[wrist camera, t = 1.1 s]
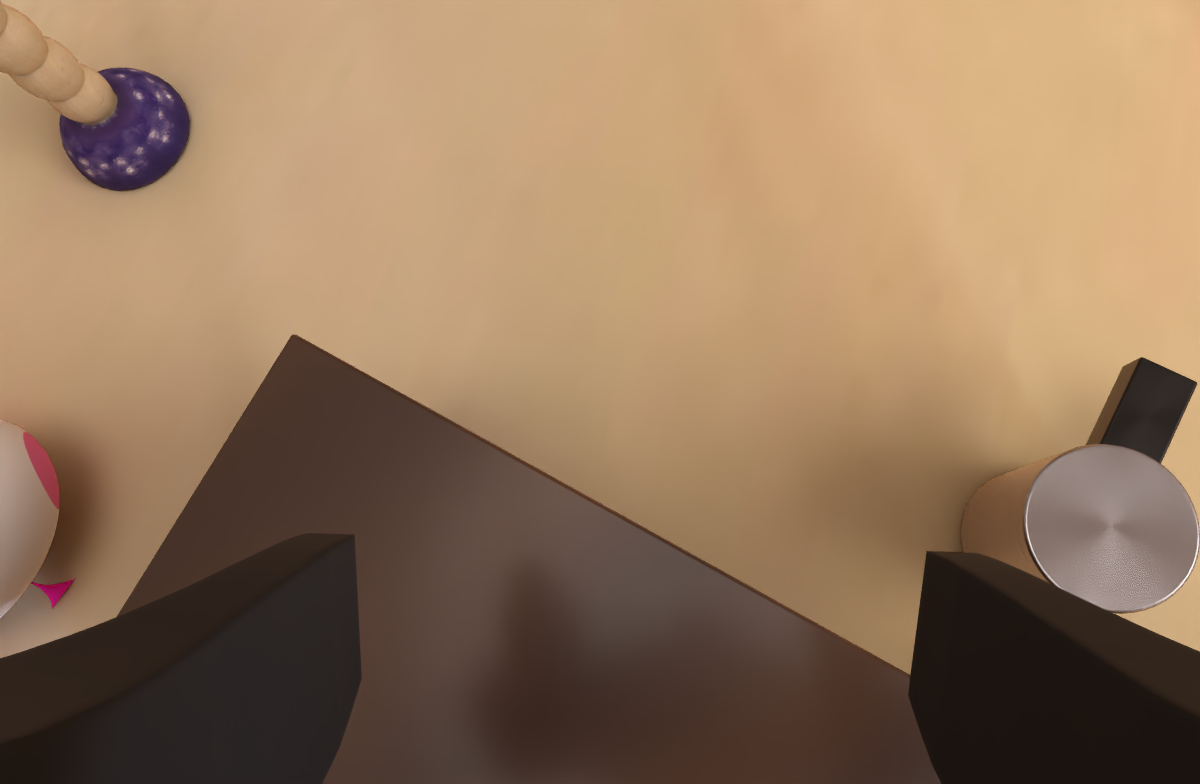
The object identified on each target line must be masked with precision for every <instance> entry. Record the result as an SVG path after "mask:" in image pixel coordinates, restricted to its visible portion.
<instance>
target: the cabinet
mask: <svg viewBox="0 0 1200 784" xmlns="http://www.w3.org/2000/svg"><path fill="white" fill-rule="evenodd" d="M305 533H325V534H355V551H356V571H357V591H358V612H359V632H360V652H361V672H362V679H361V682H360V686H359V689H358V692H357V696H356V699H355V702H354V705H353V709H352V712H351V715H350V718H349V721H348V724H347V727H346V730H345V733H344V736H343V739H342V742H341V745H340V747H339V750H338V752H337V754H336V756H335V758H334V760H333V762H332V765H331V767H330V769H329V771H328V773H327V775H326V777H325V779H324V781H323V783H322V784H941V782H940V780H939V778H938V776H937V774H936V772H935V770H934V768H933V766H932V763H931V760H930V758H929V755H928V752H927V750H926V747H925V744H924V741H923V739H922V736H921V733H920V730H919V727H918V724H917V721H916V718H915V715H914V712H913V709H912V706H911V703H910V700H909V697H908V691H909V683H910V676H911V675H909V674H907V673H905V672H904V671H902V670H900V669H898V668H896V667H894V666H893V665H891V664H889V663H887V662H885V661H884V660H882V659H880V658H878V657H876V656H875V655H873V654H871V653H869V652H867V651H866V650H864V649H862V648H860V647H858V646H857V645H855V644H853V643H851V642H849V641H848V640H846V639H844V638H842V637H840V636H839V635H837V634H835V633H833V632H831V631H830V630H828V629H826V628H824V627H822V626H821V625H819V624H817V623H815V622H813V621H811V620H810V619H808V618H806V617H804V616H802V615H801V614H799V613H797V612H795V611H793V610H792V609H790V608H788V607H786V606H784V605H783V604H781V603H779V602H777V601H775V600H774V599H772V598H770V597H768V596H766V595H765V594H763V593H761V592H759V591H757V590H756V589H754V588H752V587H750V586H748V585H747V584H745V583H743V582H741V581H739V580H738V579H736V578H734V577H732V576H730V575H728V574H727V573H725V572H723V571H721V570H719V569H718V568H716V567H714V566H712V565H710V564H709V563H707V562H705V561H703V560H701V559H700V558H698V557H696V556H694V555H692V554H691V553H689V552H687V551H685V550H683V549H682V548H680V547H678V546H676V545H674V544H673V543H671V542H669V541H667V540H665V539H664V538H662V537H660V536H658V535H656V534H655V533H653V532H651V531H649V530H647V529H646V528H644V527H642V526H640V525H638V524H636V523H635V522H633V521H631V520H629V519H627V518H626V517H624V516H622V515H620V514H618V513H617V512H615V511H613V510H611V509H609V508H608V507H606V506H604V505H602V504H600V503H599V502H597V501H595V500H593V499H591V498H590V497H588V496H586V495H584V494H582V493H581V492H579V491H577V490H575V489H573V488H572V487H570V486H568V485H566V484H564V483H563V482H561V481H559V480H557V479H555V478H553V477H552V476H550V475H548V474H546V473H544V472H543V471H541V470H539V469H537V468H535V467H534V466H532V465H530V464H528V463H526V462H525V461H523V460H521V459H519V458H517V457H516V456H514V455H512V454H510V453H508V452H507V451H505V450H503V449H501V448H499V447H498V446H496V445H494V444H492V443H490V442H489V441H487V440H485V439H483V438H481V437H480V436H478V435H476V434H474V433H472V432H470V431H469V430H467V429H465V428H463V427H461V426H460V425H458V424H456V423H454V422H452V421H451V420H449V419H447V418H445V417H443V416H442V415H440V414H438V413H436V412H434V411H433V410H431V409H429V408H427V407H425V406H424V405H422V404H420V403H418V402H416V401H415V400H413V399H411V398H409V397H407V396H406V395H404V394H402V393H400V392H398V391H397V390H395V389H393V388H391V387H389V386H387V385H386V384H384V383H382V382H380V381H378V380H377V379H375V378H373V377H371V376H369V375H368V374H366V373H364V372H362V371H360V370H359V369H357V368H355V367H353V366H351V365H350V364H348V363H346V362H344V361H342V360H341V359H339V358H337V357H335V356H333V355H332V354H330V353H328V352H326V351H324V350H323V349H321V348H319V347H317V346H315V345H314V344H312V343H310V342H308V341H306V340H305V339H303V338H301V337H299V336H297V335H292V336H291V337H290V339H289V340H288V342H287V344H286V345H285V347H284V348H283V350H282V352H281V353H280V355H279V356H278V358H277V360H276V361H275V363H274V364H273V366H272V368H271V369H270V371H269V373H268V374H267V376H266V377H265V379H264V381H263V382H262V384H261V385H260V387H259V389H258V390H257V392H256V393H255V395H254V397H253V398H252V400H251V402H250V403H249V405H248V406H247V408H246V410H245V411H244V413H243V414H242V416H241V418H240V419H239V421H238V422H237V424H236V426H235V427H234V429H233V431H232V432H231V434H230V435H229V437H228V439H227V440H226V442H225V443H224V445H223V447H222V448H221V450H220V451H219V453H218V455H217V456H216V458H215V459H214V461H213V463H212V464H211V466H210V468H209V469H208V471H207V472H206V474H205V476H204V477H203V479H202V480H201V482H200V484H199V485H198V487H197V488H196V490H195V492H194V493H193V495H192V497H191V498H190V500H189V501H188V503H187V505H186V506H185V508H184V509H183V511H182V513H181V514H180V516H179V517H178V519H177V521H176V522H175V524H174V526H173V527H172V529H171V530H170V532H169V534H168V535H167V537H166V538H165V540H164V542H163V543H162V545H161V546H160V548H159V550H158V551H157V553H156V555H155V556H154V558H153V559H152V561H151V563H150V564H149V566H148V567H147V569H146V571H145V572H144V574H143V575H142V577H141V579H140V580H139V582H138V584H137V585H136V587H135V588H134V590H133V592H132V593H131V595H130V596H129V598H128V600H127V601H126V603H125V604H124V606H123V608H122V609H121V611H120V613H119V614H118V616H121V615H123V614H125V613H128V612H130V611H132V610H134V609H137V608H139V607H141V606H144V605H146V604H148V603H150V602H153V601H155V600H157V599H160V598H162V597H164V596H166V595H169V594H171V593H173V592H176V591H178V590H180V589H182V588H185V587H187V586H189V585H191V584H193V583H195V582H197V581H200V580H202V579H204V578H206V577H208V576H210V575H212V574H214V573H216V572H218V571H220V570H222V569H225V568H227V567H229V566H231V565H233V564H235V563H237V562H239V561H241V560H243V559H245V558H247V557H249V556H252V555H254V554H256V553H258V552H260V551H262V550H264V549H266V548H269V547H271V546H273V545H275V544H277V543H280V542H282V541H284V540H287V539H289V538H292V537H295V536H298V535H301V534H305ZM118 616H117V617H118Z"/></svg>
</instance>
